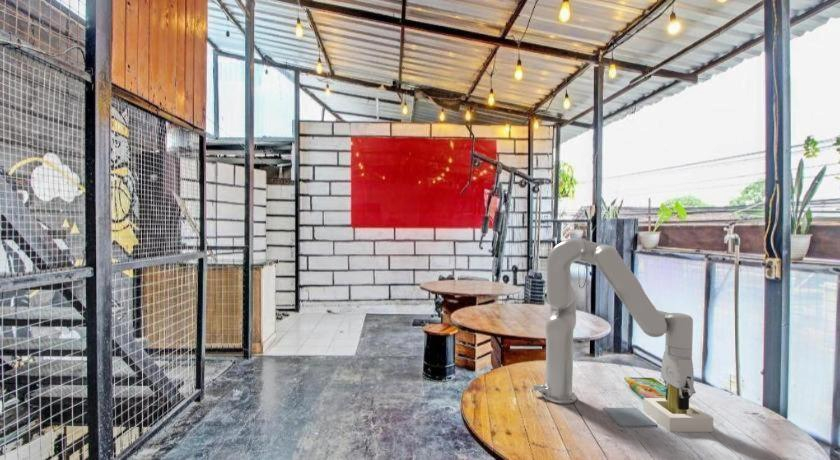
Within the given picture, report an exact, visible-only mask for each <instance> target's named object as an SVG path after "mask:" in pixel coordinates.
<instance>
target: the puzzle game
mask: <svg viewBox="0 0 840 460" xmlns="http://www.w3.org/2000/svg"><path fill="white" fill-rule="evenodd" d="M623 380H624V382H625V383H626V384H628V385H629V388H630V389H631V391H632V392H633V393H635V395H637V396H638V397H640V398H641V399H642V400H643V401H644V398H666V389H667V388H665V384H663V383H662V382H660V381H659V380H657V379H656V378H655V377H643V376H642V377H641V376H640V377H639V376H638V377H637V376H623Z"/></svg>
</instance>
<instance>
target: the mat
mask: <svg viewBox="0 0 840 460" xmlns="http://www.w3.org/2000/svg"><path fill="white" fill-rule="evenodd" d="M602 410H603V411H604V412H605V413H606V414H607V415H608V416H609V417H610V418H611V419H612V420H613V421H614V422H616V424H618V425H619V426H620V427H621V428H643V427H644V428H658V424H657V422H654V421H653V420H652V419H651V418H650V417H649V416H647V415H646V413H643V412H642V411H641V410H640V409H639V408H638V407H602Z"/></svg>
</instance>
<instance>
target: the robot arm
mask: <svg viewBox="0 0 840 460" xmlns="http://www.w3.org/2000/svg"><path fill="white" fill-rule="evenodd" d="M577 261H578V262H583V263H586V264H590V265H593V266H596V268H597V269H598V270H599V272H600V274H602V276H603V277H604V278H605V280H606V281H607V283H608V284H609V286H610V287H611V289H612V290H613V292H614V293H615V294H616V297H618V298H619V300H620V301H621V303H622V304H623V305H624V306H625V309H627V312H628V313H629V314H630V315H631V317H632V318H633V320H634V321H635V322H636V324H637V325H638V326H639V328H640V329H641V330H642V332H643V333H644V334H646V335H647V336H649V337H651V338H660V337H662V336H665V343H664V344H665V345H664V347H665V348H664V351H663V355H662V361H661V370H660V371H661V373H660V377H661V379H662V380H663V382H664V386H665V388H667V389H666V400H667V397H668V383H669V384H671V385H672V386H674V387H675V388H677V389H679V394H680V397H678V409H680V410H688V409H689V402H690V399H691V397H692V396H693V395H695V394H696V390H695V387H694V384H695V383H694V381H695V379H694V378H695V375H694V364H693V336H694V334H693V333H694V332H693V331H694V330H693V329H694V328H693V327H694V319H693V318H692V316H691V315H690V314H689V315H688V314H685V313H679V312H666V311H663V310H657V308H656V306H655V305H654V304H653V303H652V301H651V300H650V299H649V297H648V295H647V294H646V292H645V290H644V288H643V286H642V285H641V282H640V280H639V279H638V278H637V277H636V275H635V274H634V273H633V271H632V270H631V268H629V266H628V265H627V263H626V262H625V261H624V259H623V258H622V256H621V255H620V254H619V252H618V249H616V248H615V247H613V246H612V245H609V244H605V243H604V244H603V243H599V242H594V241H590V240H585V239H581V238H577V237H573V238H568V239H565V240H563V241H561V242H559V243H557V245H555V246H554V247H553V248H552V249H551V250H550V252H549V253H548V256H547V260H546V301H547V303H548V305H549V306H550V316H549V317H548V318H547V321H546V323H545V356H546V357H545V381H542V383H541V384H540V385H539V384H532V390H533V391H538V393H540V394H541V396H542V398H543V399H545V400H547V401H549V402H552V403H557V404H562V405H563V404H565V405H566V404H568V405H569V404H573V403H574V402H576V401H577V395H576V393H575V392H573V371H574V368H573V367H574V363H573V362H574V357H573V356H574V331H575V329H576V325H577V324H576V323H577V313H576V312H577V311H576V310H577V308H576V307H577V305H576V293H575V289H574V287H573V286H572V285H571V282H572V281H571V276H572V275H571V266H572V264H573V263H575V262H577ZM684 386H685V388H684ZM683 390H686V392H684V393H683Z"/></svg>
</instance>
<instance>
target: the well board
mask: <svg viewBox="0 0 840 460" xmlns="http://www.w3.org/2000/svg"><path fill="white" fill-rule="evenodd" d="M666 408H667V400H666V398H644V400H643V412H645V414H647V415H648V417H649V416H650V417H651V418H652V419H653V420H654V421H656V423H659V425H661V427H663V428H664V429H666V430H667V431H668V432H669V433H672V432H673V433H676V432H677V433H679V432H681V433H682V432H683V433H688V432H689V433H697V432H698V433H701V432H704V433H706V432H707V433H709V432H710V433H711V432H712V433H713V432H714V417H713V416H712V415H710V414H708V413H707V412H706V411H704V410H702V409H701V408H699V407H697V406H696V405H694V404H693V403H691V402H690V401H689V409H688V410H687V414H672V413H671V412H669V411H668V410H667V409H666Z"/></svg>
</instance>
